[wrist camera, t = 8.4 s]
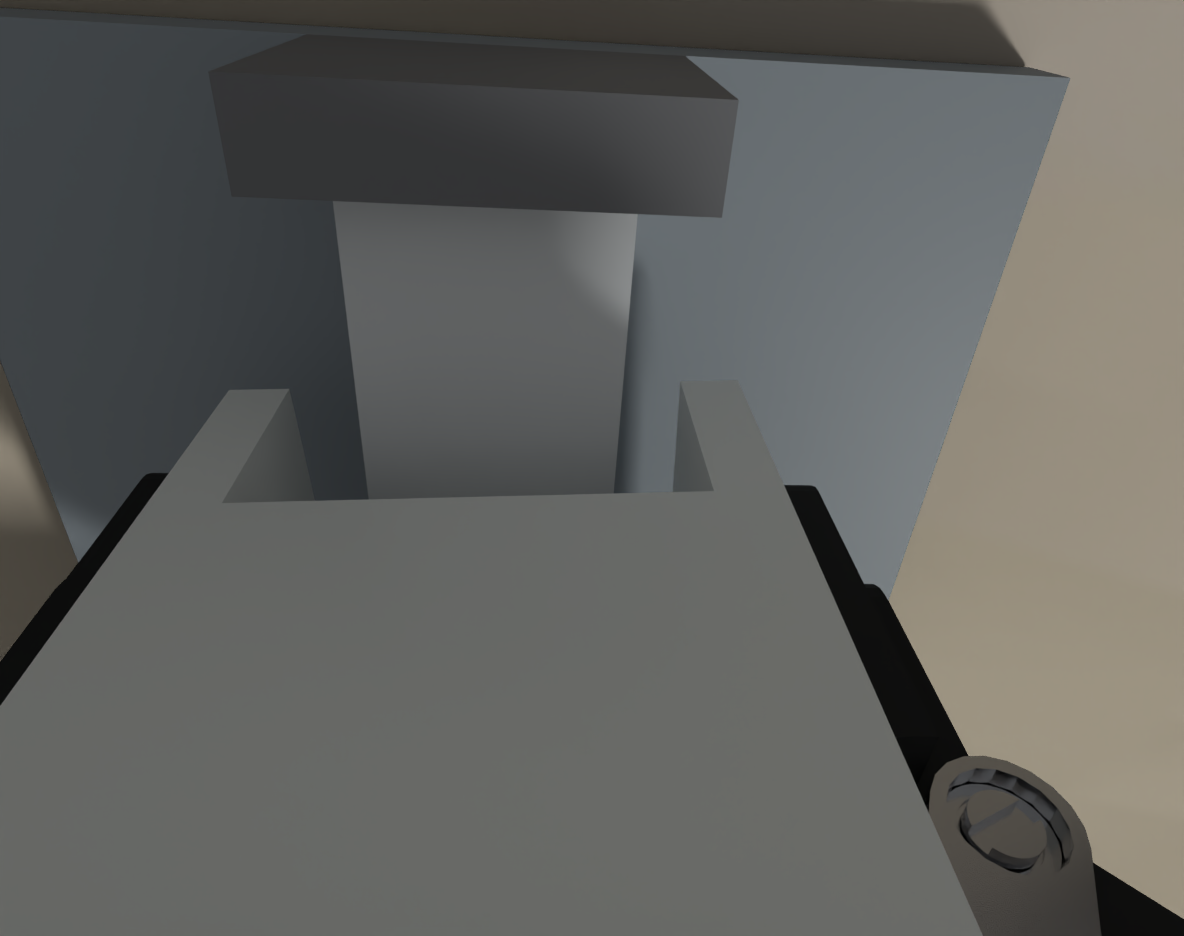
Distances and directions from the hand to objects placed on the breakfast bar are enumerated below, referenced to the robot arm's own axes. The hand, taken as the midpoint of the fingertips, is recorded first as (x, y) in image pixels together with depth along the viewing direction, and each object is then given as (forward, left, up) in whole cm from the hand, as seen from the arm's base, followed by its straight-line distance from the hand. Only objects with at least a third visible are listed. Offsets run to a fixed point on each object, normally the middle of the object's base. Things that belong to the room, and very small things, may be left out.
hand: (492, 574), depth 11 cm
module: (-1, 0, -1) cm, 1 cm away
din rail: (-4, 0, -3) cm, 5 cm away
